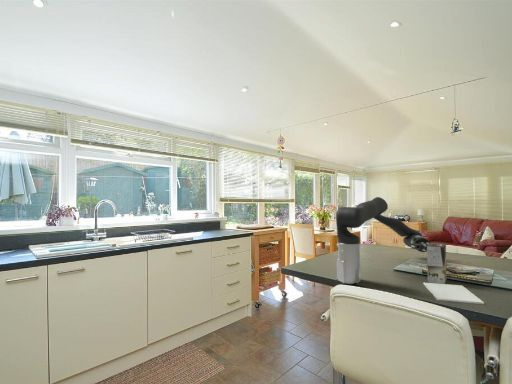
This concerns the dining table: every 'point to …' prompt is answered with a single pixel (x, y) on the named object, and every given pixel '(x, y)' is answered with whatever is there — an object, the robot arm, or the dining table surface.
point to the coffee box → (436, 263)
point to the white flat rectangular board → (452, 293)
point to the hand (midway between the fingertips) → (430, 250)
